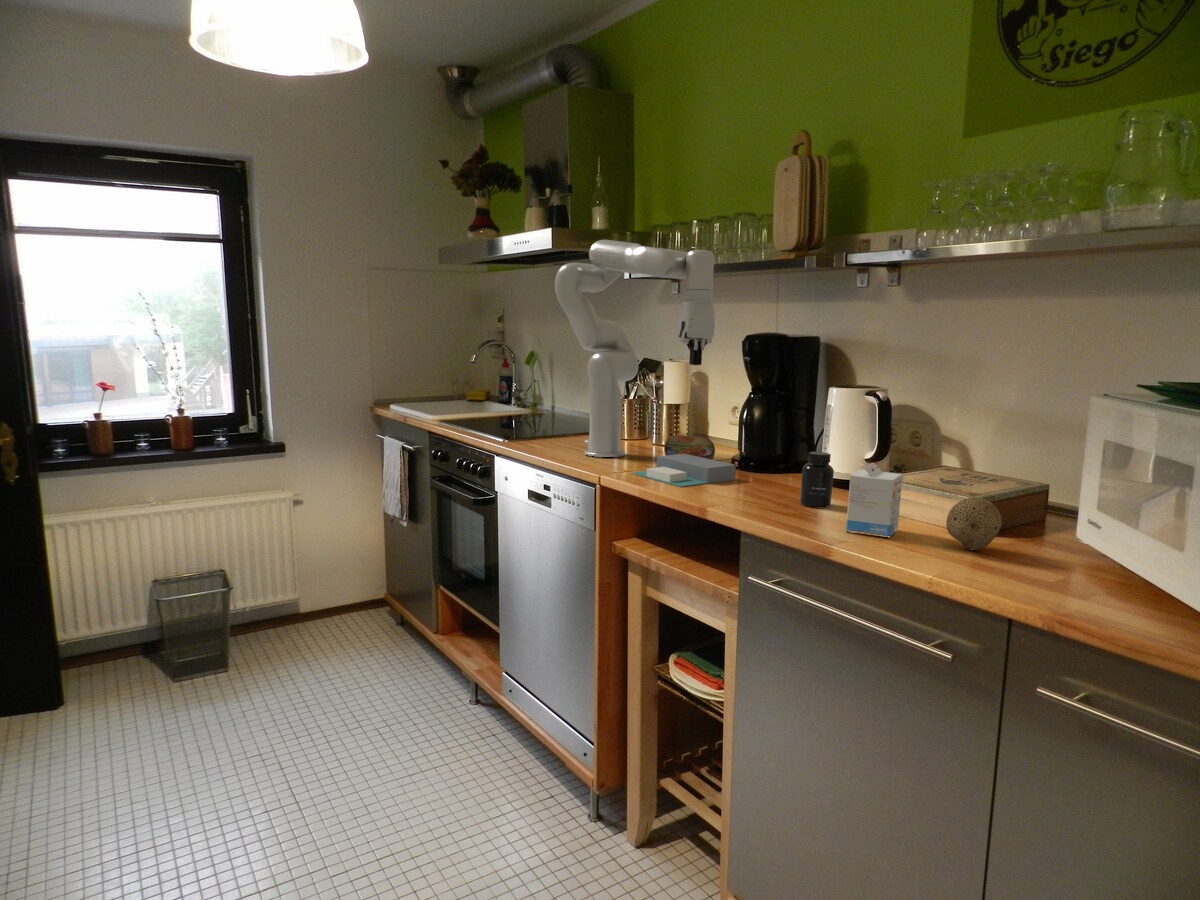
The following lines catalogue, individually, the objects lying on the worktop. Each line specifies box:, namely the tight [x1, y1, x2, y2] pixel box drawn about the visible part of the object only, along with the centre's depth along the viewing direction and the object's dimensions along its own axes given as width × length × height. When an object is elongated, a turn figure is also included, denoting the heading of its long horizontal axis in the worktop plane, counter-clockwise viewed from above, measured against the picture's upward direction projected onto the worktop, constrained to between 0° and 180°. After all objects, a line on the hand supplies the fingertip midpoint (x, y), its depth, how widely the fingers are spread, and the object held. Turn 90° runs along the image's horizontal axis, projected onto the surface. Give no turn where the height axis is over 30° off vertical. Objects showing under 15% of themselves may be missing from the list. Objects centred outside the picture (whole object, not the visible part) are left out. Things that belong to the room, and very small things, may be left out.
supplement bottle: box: [799, 451, 835, 508], centre depth 175 cm, size 7×7×12 cm
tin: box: [663, 434, 716, 460], centre depth 225 cm, size 15×3×8 cm, turn 62°
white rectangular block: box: [646, 467, 687, 482], centre depth 201 cm, size 9×6×2 cm, turn 37°
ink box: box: [845, 462, 903, 537], centre depth 153 cm, size 9×8×13 cm
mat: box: [631, 470, 707, 488], centre depth 202 cm, size 20×9×1 cm, turn 36°
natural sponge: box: [945, 496, 1003, 551], centre depth 141 cm, size 9×9×10 cm
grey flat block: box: [655, 454, 737, 485], centre depth 207 cm, size 20×10×4 cm, turn 36°
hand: (695, 364), depth 213 cm, fingers closed
